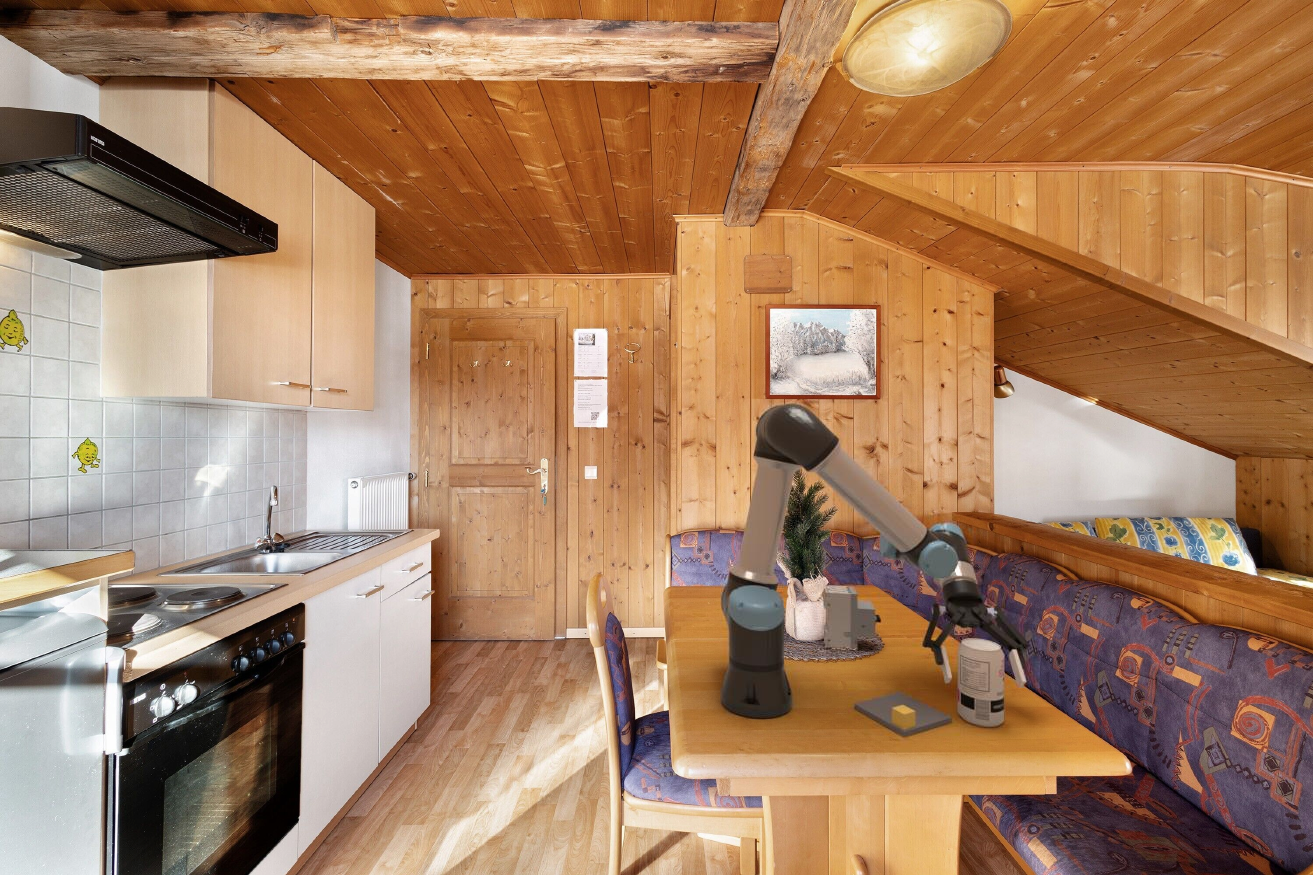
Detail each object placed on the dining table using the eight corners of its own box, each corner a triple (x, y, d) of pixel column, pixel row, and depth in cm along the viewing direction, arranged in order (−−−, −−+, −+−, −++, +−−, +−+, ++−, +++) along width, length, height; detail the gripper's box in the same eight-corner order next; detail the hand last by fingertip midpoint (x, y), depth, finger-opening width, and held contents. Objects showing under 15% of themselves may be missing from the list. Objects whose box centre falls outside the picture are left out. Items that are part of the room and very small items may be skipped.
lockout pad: (904, 736, 114) (904, 716, 114) (854, 708, 126) (854, 689, 125) (951, 722, 119) (951, 702, 119) (899, 695, 131) (899, 677, 131)
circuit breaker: (882, 652, 156) (882, 595, 156) (825, 649, 159) (825, 592, 159) (877, 642, 164) (877, 587, 163) (823, 639, 166) (823, 585, 166)
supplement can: (950, 708, 125) (950, 637, 125) (990, 709, 125) (991, 637, 125) (969, 728, 117) (969, 651, 117) (1012, 728, 117) (1013, 651, 116)
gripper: (1014, 597, 135) (1047, 693, 120) (897, 593, 139) (915, 686, 124) (1025, 579, 129) (1060, 678, 115) (903, 576, 133) (922, 670, 119)
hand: (985, 682), depth 120 cm, fingers open, 13 cm apart
